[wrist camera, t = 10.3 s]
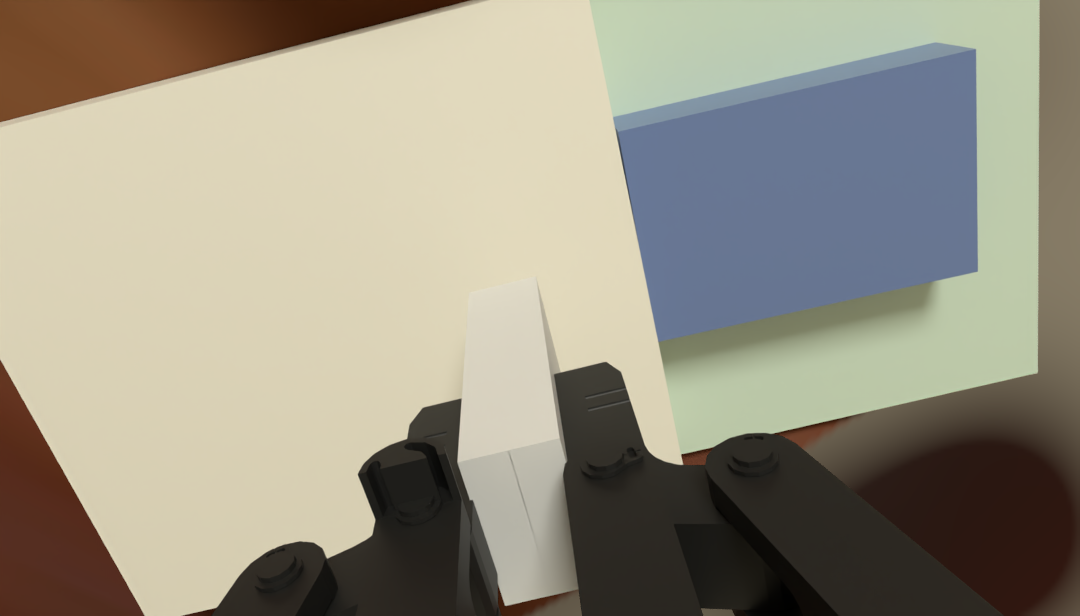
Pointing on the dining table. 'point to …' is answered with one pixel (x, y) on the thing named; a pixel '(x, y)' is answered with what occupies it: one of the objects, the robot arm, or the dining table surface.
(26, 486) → the dining table surface
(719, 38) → the mat
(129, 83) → the dining table surface
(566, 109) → the cream flat block
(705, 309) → the blue rectangular block
